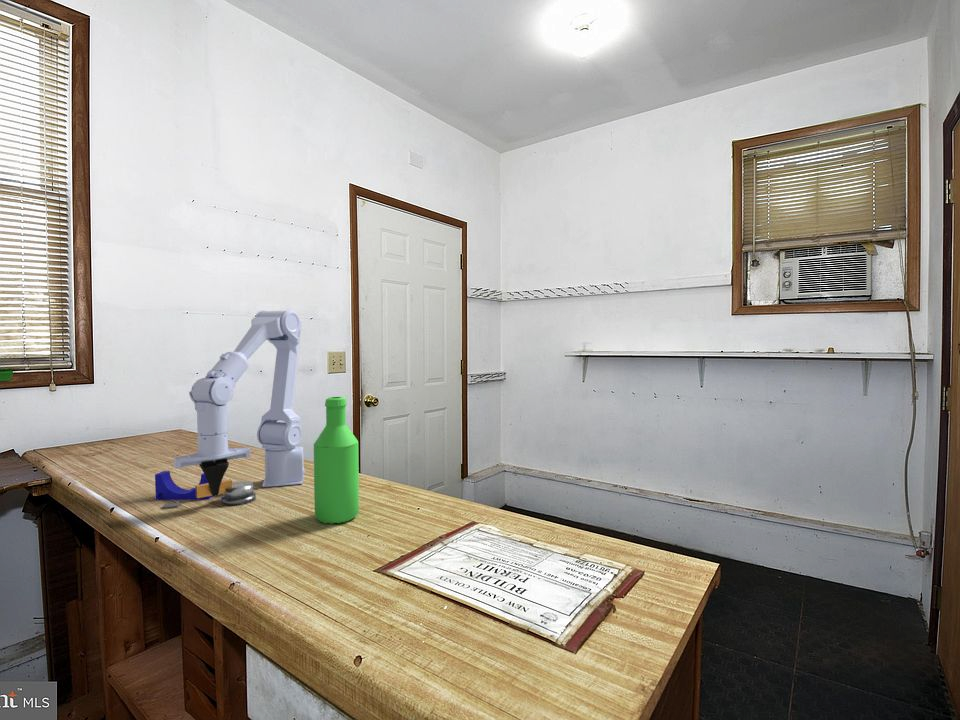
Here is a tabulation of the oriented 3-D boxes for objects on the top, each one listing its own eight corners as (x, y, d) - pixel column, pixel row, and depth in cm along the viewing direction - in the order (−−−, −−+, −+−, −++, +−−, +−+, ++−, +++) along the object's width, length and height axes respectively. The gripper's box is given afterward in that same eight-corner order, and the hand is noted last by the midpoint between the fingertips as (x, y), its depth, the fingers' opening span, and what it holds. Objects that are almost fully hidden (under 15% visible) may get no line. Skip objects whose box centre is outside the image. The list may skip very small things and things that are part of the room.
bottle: (346, 527, 95) (345, 400, 94) (306, 523, 97) (304, 399, 95) (365, 511, 103) (364, 395, 102) (328, 508, 105) (327, 394, 104)
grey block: (180, 504, 108) (180, 502, 108) (177, 507, 106) (177, 505, 106) (164, 505, 107) (164, 504, 107) (161, 509, 105) (161, 507, 105)
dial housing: (257, 494, 115) (257, 489, 115) (253, 503, 108) (253, 499, 108) (224, 497, 113) (224, 492, 113) (218, 507, 106) (218, 502, 106)
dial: (249, 488, 115) (248, 473, 114) (256, 495, 110) (256, 479, 110) (193, 499, 107) (193, 482, 107) (199, 506, 103) (198, 489, 102)
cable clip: (218, 493, 116) (217, 469, 115) (208, 500, 111) (207, 474, 111) (168, 494, 115) (167, 469, 115) (155, 500, 111) (154, 474, 111)
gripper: (243, 426, 112) (245, 483, 113) (170, 434, 103) (172, 497, 103) (252, 430, 107) (254, 491, 108) (176, 440, 97) (178, 506, 98)
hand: (214, 494), depth 105 cm, fingers closed, pressing on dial
